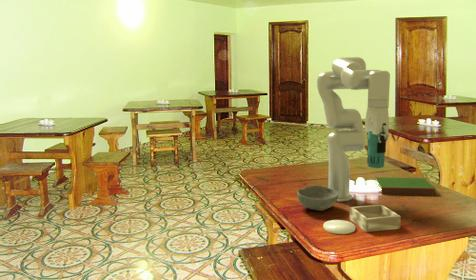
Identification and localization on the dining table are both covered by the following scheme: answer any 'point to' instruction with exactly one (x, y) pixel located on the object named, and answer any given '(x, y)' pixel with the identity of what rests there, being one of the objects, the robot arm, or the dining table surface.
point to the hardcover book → (405, 186)
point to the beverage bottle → (374, 152)
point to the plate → (339, 227)
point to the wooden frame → (374, 218)
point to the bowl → (317, 197)
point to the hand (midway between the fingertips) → (376, 150)
